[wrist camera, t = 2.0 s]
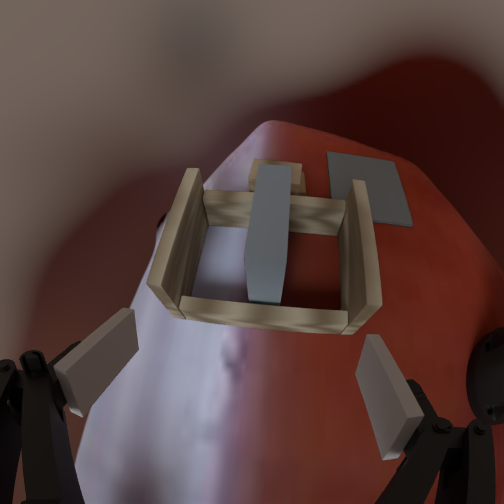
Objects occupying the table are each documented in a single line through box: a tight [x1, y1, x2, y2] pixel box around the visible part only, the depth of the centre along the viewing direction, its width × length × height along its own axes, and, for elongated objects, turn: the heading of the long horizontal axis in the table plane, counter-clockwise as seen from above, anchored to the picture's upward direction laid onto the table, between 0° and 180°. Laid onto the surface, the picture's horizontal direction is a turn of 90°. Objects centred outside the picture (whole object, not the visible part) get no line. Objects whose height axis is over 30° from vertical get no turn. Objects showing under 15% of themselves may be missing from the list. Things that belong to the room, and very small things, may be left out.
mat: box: [327, 152, 413, 227], centre depth 46 cm, size 14×16×1 cm
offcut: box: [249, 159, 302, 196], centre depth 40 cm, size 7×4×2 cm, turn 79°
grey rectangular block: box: [244, 164, 291, 306], centre depth 32 cm, size 4×12×13 cm, turn 173°
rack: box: [146, 168, 382, 335], centre depth 34 cm, size 23×16×10 cm
